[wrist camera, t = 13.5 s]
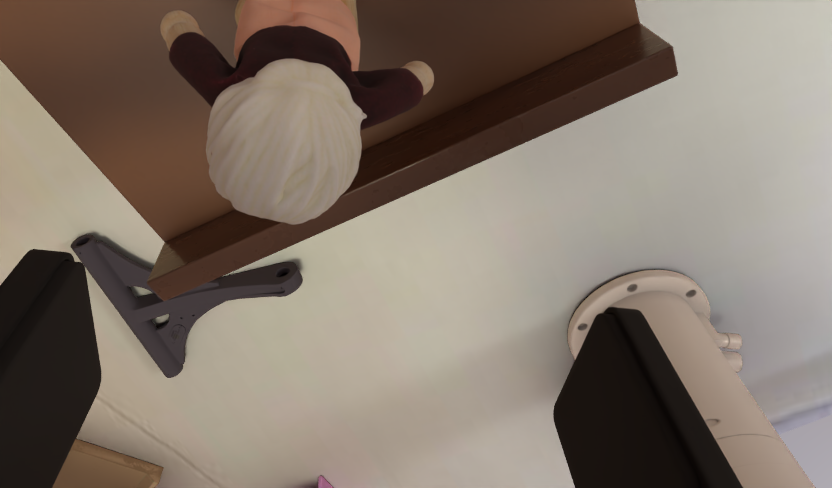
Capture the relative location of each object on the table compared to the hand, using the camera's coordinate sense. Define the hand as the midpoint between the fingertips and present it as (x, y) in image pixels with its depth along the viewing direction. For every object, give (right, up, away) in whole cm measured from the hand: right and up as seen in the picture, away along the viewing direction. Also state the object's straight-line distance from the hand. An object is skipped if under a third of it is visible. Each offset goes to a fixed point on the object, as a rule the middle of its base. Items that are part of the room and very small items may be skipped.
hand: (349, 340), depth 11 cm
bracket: (-15, -2, +37) cm, 40 cm away
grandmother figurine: (-3, +10, +11) cm, 15 cm away
